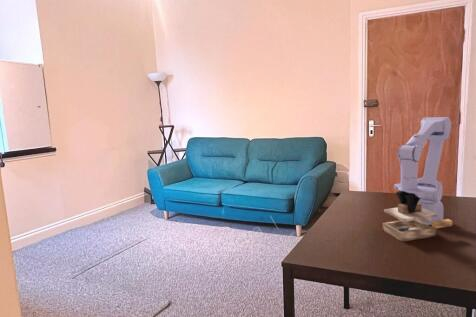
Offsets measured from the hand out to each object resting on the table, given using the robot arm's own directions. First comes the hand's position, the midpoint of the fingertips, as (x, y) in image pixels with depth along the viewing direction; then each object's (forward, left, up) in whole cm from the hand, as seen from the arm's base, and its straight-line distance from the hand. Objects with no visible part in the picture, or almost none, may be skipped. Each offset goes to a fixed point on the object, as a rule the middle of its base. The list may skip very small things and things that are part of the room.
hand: (408, 210), depth 131 cm
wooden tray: (0, 0, -9) cm, 9 cm away
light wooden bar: (-8, +7, -5) cm, 12 cm away
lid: (0, +2, -1) cm, 2 cm away
